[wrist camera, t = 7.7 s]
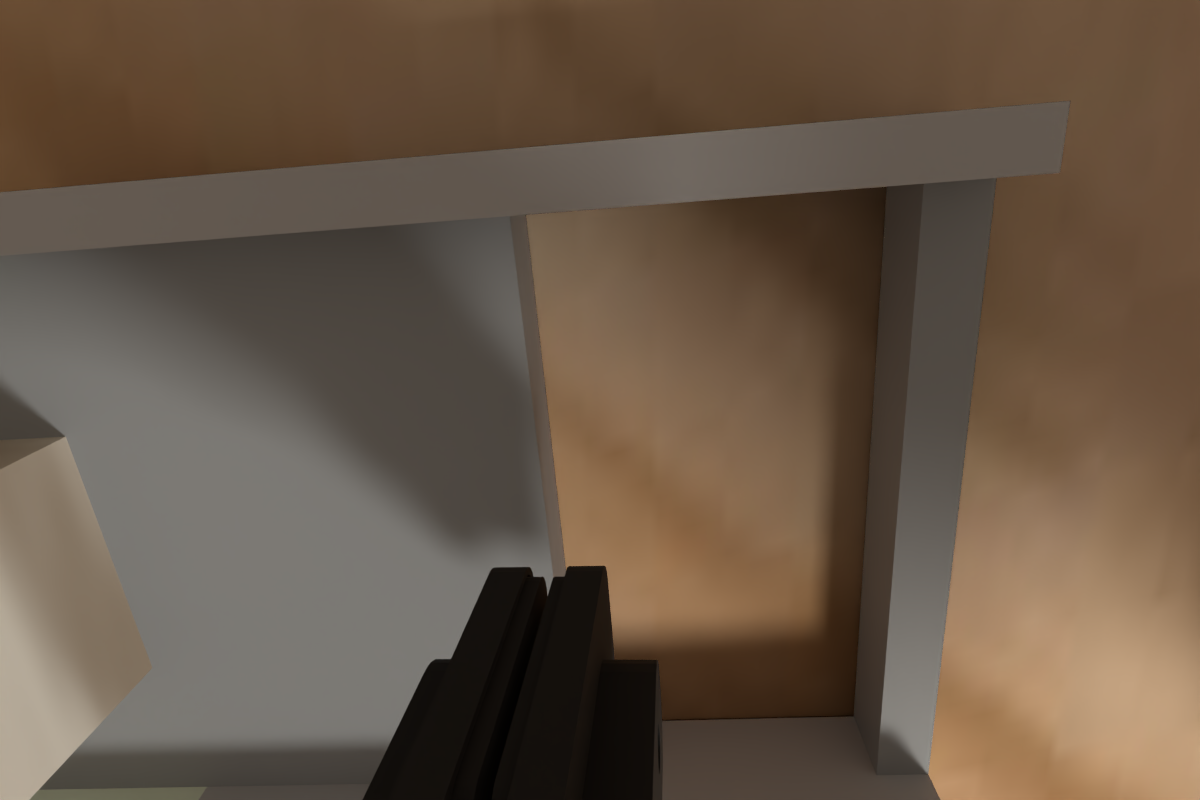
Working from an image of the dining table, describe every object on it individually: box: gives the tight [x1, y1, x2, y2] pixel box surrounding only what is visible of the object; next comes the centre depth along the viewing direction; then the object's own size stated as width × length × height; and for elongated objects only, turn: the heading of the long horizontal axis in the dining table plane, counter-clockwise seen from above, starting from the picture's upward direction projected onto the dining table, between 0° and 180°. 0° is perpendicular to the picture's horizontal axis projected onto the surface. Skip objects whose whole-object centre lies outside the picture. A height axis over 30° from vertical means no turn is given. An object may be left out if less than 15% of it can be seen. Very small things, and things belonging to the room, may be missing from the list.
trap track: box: [0, 101, 1070, 800], centre depth 13 cm, size 30×13×3 cm, turn 94°
